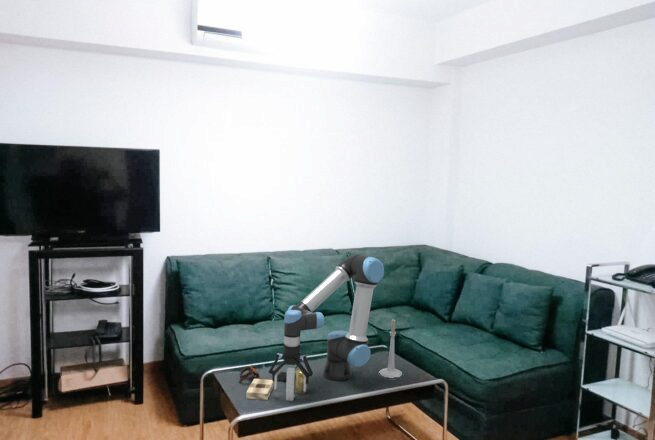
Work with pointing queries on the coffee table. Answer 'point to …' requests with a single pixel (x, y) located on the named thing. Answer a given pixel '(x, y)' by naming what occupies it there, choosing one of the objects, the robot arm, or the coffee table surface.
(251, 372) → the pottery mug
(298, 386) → the round brass bit
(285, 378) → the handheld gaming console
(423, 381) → the coffee table surface
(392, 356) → the candlestick
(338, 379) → the robot arm
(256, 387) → the socket plate
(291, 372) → the square steel bit
